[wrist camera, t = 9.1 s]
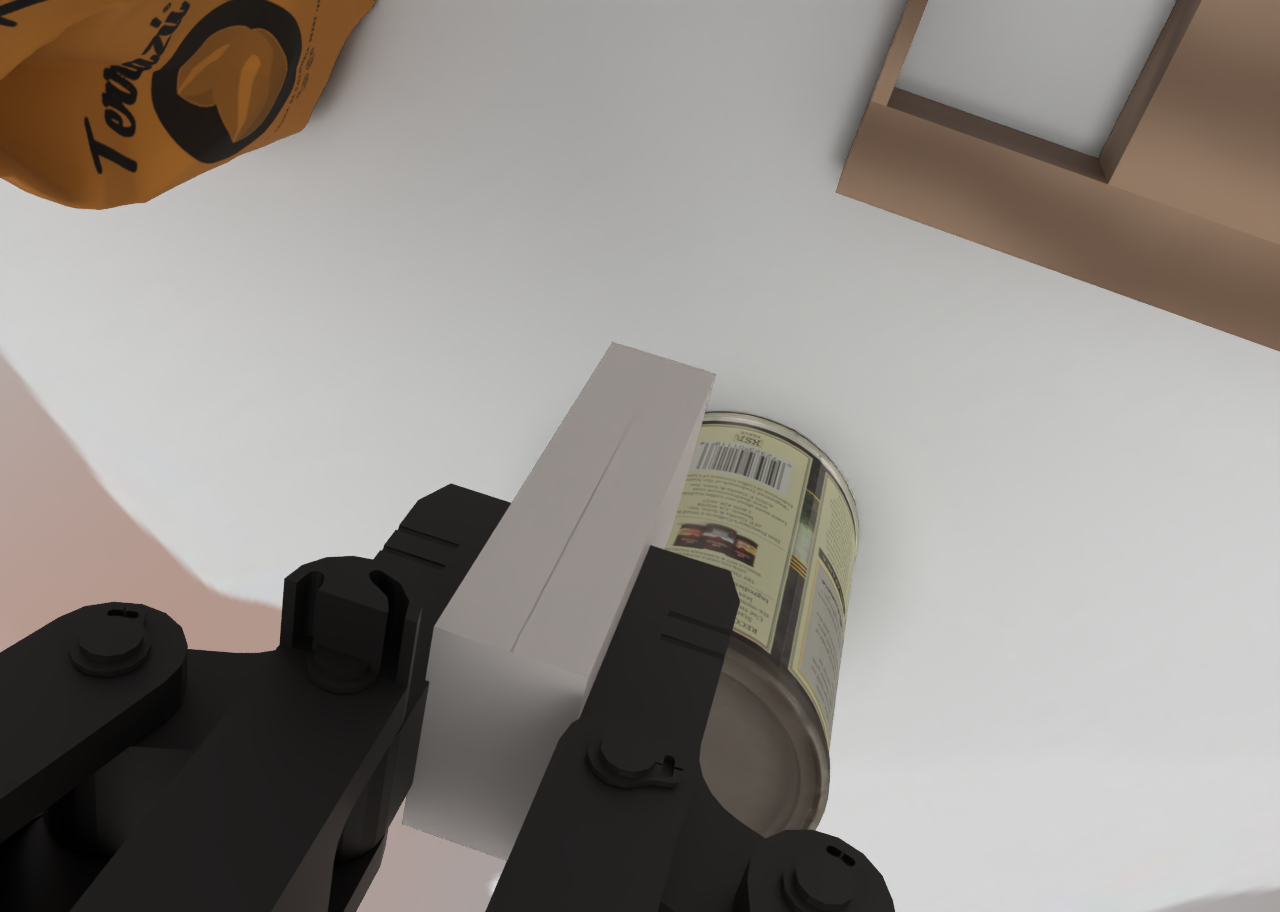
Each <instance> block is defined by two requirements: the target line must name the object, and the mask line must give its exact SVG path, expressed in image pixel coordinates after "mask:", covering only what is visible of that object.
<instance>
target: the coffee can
mask: <svg viewBox="0 0 1280 912" xmlns="http://www.w3.org/2000/svg"><path fill="white" fill-rule="evenodd" d="M858 543H859V525H858V517H857V512H856V504H855V502H854V499H853V498H852V496H851V494H850V491H849V489H848V486H847V484H846V483H845V481H844V479H843V478H842V476H841V474H840V473H839V471H838V470H837V468H836V467H835V466H834V465H833V463H832V462H831V461H830V460H829V459H828V458H827V457H826V456H825V455H824V454H823V452H821V451H820V450H819V449H818V448H817V447H816V446H814V445H813V444H812V443H811V442H809V441H808V440H806V439H805V438H803V437H802V436H800V435H799V434H797V433H796V432H795V431H793V430H790V429H788V428H786V427H783V426H781V425H778V424H776V423H773V422H771V421H768V420H766V419H762V418H758V417H754V416H750V415H745V414H737V413H706V414H704V418H703V421H702V425H701V428H700V432H699V436H698V439H697V443H696V446H695V450H694V453H693V457H692V460H691V464H690V467H689V471H688V474H687V478H686V481H685V485H684V488H683V492H682V495H681V499H680V502H679V506H678V509H677V513H676V516H675V520H674V523H673V527H672V530H671V533H670V536H669V538H668V541H667V543H666V546H665V549H664V550H668V551H671V552H674V553H677V554H680V555H683V556H686V557H689V558H692V559H695V560H699V561H702V562H705V563H708V564H711V565H714V566H717V567H720V568H723V569H726V570H729V571H731V574H732V577H733V580H734V584H735V587H736V590H737V593H738V596H739V599H740V605H739V608H738V612H737V615H736V619H735V623H734V626H733V630H732V633H731V637H730V641H729V645H728V648H727V652H726V655H725V658H724V663H723V666H722V670H721V674H720V677H719V681H718V685H717V688H716V692H715V696H714V699H713V703H712V706H711V710H710V714H709V717H708V721H707V725H706V728H705V732H704V736H703V739H702V743H701V749H700V759H699V761H700V766H701V770H702V775H703V778H704V780H705V782H706V784H707V786H708V788H709V789H710V791H711V793H712V794H713V796H714V797H715V798H716V799H717V800H718V802H719V803H720V804H721V805H722V806H723V808H724V809H725V810H727V811H728V812H729V813H730V814H732V815H733V816H734V817H735V818H737V819H738V820H739V821H740V822H742V823H743V824H745V825H746V826H748V827H749V828H751V829H752V830H754V831H755V832H757V833H758V834H760V835H761V836H763V837H764V838H768V837H770V836H773V835H775V834H777V833H779V832H782V831H784V830H810V829H812V830H816V828H817V826H818V825H819V823H820V820H821V818H822V816H823V813H824V811H825V807H826V804H827V800H828V793H829V783H830V758H829V748H830V740H831V732H832V724H833V716H834V709H835V701H836V692H837V685H838V677H839V670H840V662H841V654H842V647H843V642H844V632H845V624H846V616H847V608H848V602H849V594H850V586H851V579H852V571H853V565H854V562H855V559H856V554H857V550H858Z"/></svg>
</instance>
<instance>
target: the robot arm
mask: <svg viewBox="0 0 1280 912" xmlns="http://www.w3.org/2000/svg"><path fill="white" fill-rule="evenodd" d="M715 376H716V374H715V373H711V372H708V371H705V370H702V369H699V368H695V367H692V366H689V365H686V364H682V363H679V362H676V361H673V360H669V359H666V358H663V357H660V356H656V355H653V354H650V353H647V352H643V351H640V350H637V349H634V348H630V347H627V346H624V345H621V344H617V343H614V342H612V344H611V345H610V347H609V348H608V350H607V351H606V353H605V355H604V356H603V358H602V359H601V361H600V363H599V364H598V366H597V367H596V369H595V371H594V372H593V374H592V375H591V377H590V379H589V380H588V382H587V383H586V385H585V387H584V388H583V390H582V391H581V393H580V395H579V396H578V398H577V399H576V401H575V403H574V404H573V406H572V407H571V409H570V410H569V412H568V414H567V415H566V417H565V418H564V420H563V422H562V423H561V425H560V426H559V428H558V430H557V431H556V433H555V434H554V436H553V438H552V439H551V441H550V442H549V444H548V446H547V447H546V449H545V450H544V452H543V454H542V455H541V457H540V458H539V460H538V462H537V463H536V465H535V466H534V468H533V470H532V471H531V473H530V474H529V476H528V477H527V479H526V481H525V482H524V484H523V485H522V487H521V489H520V490H519V492H518V493H517V495H516V497H515V498H514V500H513V501H512V503H510V502H507V501H503V500H500V499H497V498H494V497H491V496H488V495H485V494H482V493H479V492H476V491H472V490H469V489H466V488H463V487H460V486H457V485H454V484H449V485H447V486H445V487H443V488H441V489H439V490H437V491H435V492H433V493H431V494H429V495H427V496H426V497H424V498H422V499H420V500H418V501H417V503H416V504H415V505H414V507H413V508H412V509H411V510H410V512H409V513H408V514H407V516H406V517H405V518H404V520H403V521H402V522H401V524H400V525H399V528H398V530H395V532H394V533H393V534H392V536H391V537H390V538H389V539H388V541H387V542H386V543H385V545H384V548H383V550H382V551H381V550H380V551H379V553H378V554H377V555H376V557H375V558H374V559H373V560H372V559H367V558H361V557H356V556H343V557H326V558H323V559H320V560H317V561H314V562H310V563H307V564H304V565H302V566H300V567H299V568H298V569H297V570H295V571H294V572H293V573H291V574H290V575H289V576H287V577H286V578H285V579H284V592H283V606H282V619H281V633H280V645H279V646H278V647H277V649H276V650H274V651H267V652H261V653H229V652H217V651H205V650H192V649H187V648H188V645H187V642H186V639H185V636H184V633H183V630H182V627H181V626H180V625H179V624H177V623H176V622H175V621H174V620H173V619H172V618H170V616H168V615H167V614H166V613H164V612H161V611H159V610H156V609H154V608H151V607H148V606H146V605H143V604H133V603H122V602H110V603H104V604H97V605H91V606H84V607H82V608H80V609H77V610H75V611H73V612H70V613H68V614H66V615H63V616H61V617H59V618H57V619H55V620H54V621H52V622H50V623H49V624H47V625H45V626H44V627H42V628H41V629H39V630H37V631H35V632H34V633H32V634H30V635H29V636H27V637H25V638H24V639H22V640H20V641H19V642H17V643H16V644H14V645H12V646H10V647H9V648H7V649H6V650H4V651H2V652H1V653H0V912H356V911H357V909H358V907H359V905H360V903H361V901H362V899H363V897H364V896H365V894H366V892H367V890H368V888H369V886H370V884H371V883H372V880H373V879H374V877H375V875H376V873H377V871H378V869H379V868H380V865H381V861H382V858H383V854H384V850H385V845H386V839H387V833H388V827H389V826H390V824H391V822H392V820H393V818H394V817H395V815H396V813H397V811H398V809H399V807H400V805H401V804H402V802H403V800H404V798H405V797H406V802H405V808H404V814H403V820H402V824H403V825H406V826H409V827H412V828H414V829H417V830H420V831H423V832H426V833H429V834H432V835H434V836H437V837H440V838H443V839H446V840H449V841H452V842H454V843H457V844H460V845H463V846H466V847H469V848H472V849H474V850H477V851H480V852H483V853H486V854H489V855H492V856H495V857H497V858H500V859H503V860H506V861H507V862H506V865H505V867H504V869H503V872H502V874H501V876H500V879H499V881H498V883H497V886H496V888H495V890H494V893H493V895H492V897H491V900H490V902H489V904H488V907H487V909H486V911H485V912H895V909H894V904H893V900H892V898H891V895H890V893H889V890H888V888H887V886H886V883H885V881H884V878H883V876H882V875H881V874H880V872H879V871H878V870H877V869H876V868H875V867H874V866H873V864H872V863H871V862H870V861H869V860H868V859H867V857H866V856H865V855H864V854H863V853H861V852H860V851H858V850H857V849H855V848H854V847H852V846H850V845H849V844H847V843H846V842H844V841H843V840H841V839H840V838H838V837H834V836H831V835H828V834H825V833H821V832H818V831H815V830H812V829H810V830H784V831H782V832H779V833H777V834H775V835H773V836H770V837H768V838H764V837H763V836H761V835H760V834H758V833H757V832H755V831H754V830H752V829H751V828H749V827H748V826H746V825H745V824H743V823H742V822H740V821H739V820H738V819H737V818H735V817H734V816H733V815H732V814H730V813H729V812H728V811H727V810H725V809H724V808H723V806H722V805H721V804H720V803H719V802H718V800H717V799H716V798H715V797H714V796H713V794H712V793H711V791H710V789H709V788H708V786H707V784H706V782H705V780H704V778H703V775H702V770H701V766H700V761H699V759H700V749H701V743H702V739H703V736H704V732H705V728H706V725H707V721H708V717H709V714H710V710H711V706H712V703H713V699H714V696H715V692H716V688H717V685H718V681H719V677H720V674H721V670H722V666H723V663H724V658H725V655H726V652H727V648H728V645H729V641H730V637H731V633H732V630H733V626H734V623H735V619H736V615H737V612H738V608H739V605H740V599H739V596H738V593H737V590H736V587H735V584H734V580H733V577H732V574H731V571H729V570H726V569H723V568H720V567H717V566H714V565H711V564H708V563H705V562H702V561H699V560H695V559H692V558H689V557H686V556H683V555H680V554H677V553H674V552H671V551H668V550H664V549H665V546H666V543H667V541H668V538H669V536H670V533H671V530H672V527H673V523H674V520H675V516H676V513H677V509H678V506H679V502H680V499H681V495H682V492H683V488H684V485H685V481H686V478H687V474H688V471H689V467H690V464H691V460H692V457H693V453H694V450H695V446H696V443H697V439H698V436H699V432H700V428H701V425H702V421H703V418H704V414H705V411H706V407H707V404H708V400H709V397H710V393H711V390H712V386H713V383H714V379H715Z"/></svg>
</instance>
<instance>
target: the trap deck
mask: <svg viewBox="0 0 1280 912" xmlns="http://www.w3.org/2000/svg"><path fill="white" fill-rule="evenodd" d="M927 2H928V0H908V1H907V4H906V7H905V9H904V12H903V14H902V17H901V20H900V22H899V25H898V27H897V30H896V33H895V35H894V38H893V40H892V43H891V46H890V48H889V51H888V53H887V56H886V59H885V61H884V64H883V66H882V69H881V72H880V74H879V77H878V79H877V82H876V85H875V87H874V90H873V92H872V95H871V98H870V100H869V103H868V105H867V108H866V111H865V113H864V116H863V118H862V121H861V124H860V126H859V129H858V131H857V134H856V137H855V139H854V142H853V144H852V147H851V150H850V152H849V155H848V157H847V160H846V163H845V165H844V168H843V171H842V174H841V177H840V180H839V183H838V187H837V190H836V193H839V194H842V195H844V196H847V197H850V198H853V199H855V200H858V201H861V202H864V203H867V204H869V205H872V206H875V207H878V208H881V209H883V210H886V211H889V212H892V213H895V214H897V215H900V216H903V217H906V218H909V219H911V220H914V221H917V222H920V223H923V224H925V225H928V226H931V227H934V228H936V229H939V230H942V231H945V232H948V233H950V234H953V235H956V236H959V237H962V238H964V239H967V240H970V241H973V242H976V243H978V244H981V245H984V246H987V247H990V248H992V249H995V250H998V251H1001V252H1003V253H1006V254H1009V255H1012V256H1015V257H1017V258H1020V259H1023V260H1026V261H1029V262H1031V263H1034V264H1037V265H1040V266H1043V267H1045V268H1048V269H1051V270H1054V271H1057V272H1059V273H1062V274H1065V275H1068V276H1071V277H1073V278H1076V279H1079V280H1082V281H1084V282H1087V283H1090V284H1093V285H1096V286H1098V287H1101V288H1104V289H1107V290H1110V291H1112V292H1115V293H1118V294H1121V295H1124V296H1126V297H1129V298H1132V299H1135V300H1138V301H1140V302H1143V303H1146V304H1149V305H1152V306H1154V307H1157V308H1160V309H1163V310H1165V311H1168V312H1171V313H1174V314H1177V315H1179V316H1182V317H1185V318H1188V319H1191V320H1193V321H1196V322H1199V323H1202V324H1205V325H1207V326H1210V327H1213V328H1216V329H1219V330H1221V331H1224V332H1227V333H1230V334H1233V335H1235V336H1238V337H1241V338H1244V339H1246V340H1249V341H1252V342H1255V343H1258V344H1260V345H1263V346H1266V347H1269V348H1272V349H1274V350H1277V351H1280V0H1177V2H1176V4H1175V6H1174V8H1173V10H1172V12H1171V14H1170V16H1169V18H1168V20H1167V22H1166V24H1165V26H1164V28H1163V30H1162V32H1161V34H1160V36H1159V38H1158V40H1157V42H1156V44H1155V46H1154V48H1153V50H1152V52H1151V54H1150V56H1149V58H1148V60H1147V62H1146V64H1145V66H1144V68H1143V70H1142V72H1141V74H1140V76H1139V78H1138V80H1137V82H1136V84H1135V86H1134V88H1133V90H1132V92H1131V94H1130V96H1129V98H1128V100H1127V102H1126V104H1125V106H1124V108H1123V110H1122V112H1121V114H1120V116H1119V118H1118V120H1117V122H1116V124H1115V126H1114V128H1113V130H1112V132H1111V134H1110V136H1109V138H1108V140H1107V142H1106V144H1105V146H1104V148H1103V150H1102V152H1101V154H1100V156H1099V158H1098V159H1097V158H1094V157H1092V156H1089V155H1086V154H1083V153H1080V152H1077V151H1074V150H1072V149H1069V148H1066V147H1063V146H1060V145H1057V144H1055V143H1052V142H1049V141H1046V140H1043V139H1040V138H1037V137H1035V136H1032V135H1029V134H1026V133H1023V132H1020V131H1018V130H1015V129H1012V128H1009V127H1006V126H1003V125H1001V124H998V123H995V122H992V121H989V120H986V119H983V118H981V117H978V116H975V115H972V114H969V113H966V112H964V111H961V110H958V109H955V108H952V107H949V106H946V105H944V104H941V103H938V102H935V101H932V100H929V99H927V98H924V97H921V96H918V95H915V94H912V93H909V92H907V91H904V90H901V89H898V88H895V87H894V86H895V83H896V81H897V78H898V76H899V73H900V71H901V68H902V66H903V63H904V61H905V58H906V55H907V53H908V50H909V48H910V45H911V43H912V40H913V38H914V35H915V33H916V30H917V27H918V25H919V22H920V20H921V17H922V15H923V12H924V10H925V7H926V5H927Z"/></svg>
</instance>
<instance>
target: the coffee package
mask: <svg viewBox="0 0 1280 912" xmlns="http://www.w3.org/2000/svg"><path fill="white" fill-rule="evenodd" d="M374 3H375V0H0V178H2V179H4V180H6V181H8V182H10V183H11V184H13V185H15V186H17V187H18V188H20V189H22V190H24V191H26V192H28V193H31V194H33V195H36V196H38V197H41V198H44V199H47V200H50V201H53V202H56V203H59V204H62V205H65V206H68V207H73V208H79V209H96V210H101V209H108V208H113V207H117V206H122V205H128V204H134V203H145V202H147V201H149V200H151V199H153V198H155V197H157V196H158V195H160V194H162V193H164V192H166V191H168V190H170V189H172V188H174V187H176V186H178V185H180V184H182V183H184V182H186V181H188V180H190V179H192V178H194V177H196V176H198V175H200V174H202V173H204V172H206V171H208V170H211V169H213V168H215V167H218V166H220V165H222V164H224V163H227V162H229V161H230V160H232V159H234V158H235V157H237V156H239V155H242V154H244V153H247V152H250V151H252V150H255V149H258V148H261V147H264V146H266V145H268V144H270V143H273V142H275V141H277V140H280V139H282V138H285V137H287V136H290V135H293V134H295V133H298V132H300V131H301V130H302V129H304V127H305V126H306V125H307V124H308V122H309V119H310V116H311V113H312V110H313V108H314V106H315V104H316V103H317V102H318V99H319V97H320V95H321V93H322V91H323V89H324V87H325V85H326V84H327V82H328V80H329V77H330V74H331V72H332V69H333V67H334V64H335V61H336V59H337V57H338V55H339V53H340V51H341V49H342V47H343V45H344V43H345V41H346V39H347V38H348V36H349V35H350V33H351V32H352V30H353V29H354V27H355V26H356V25H357V24H358V22H359V21H360V20H361V19H362V18H363V17H364V16H365V14H366V13H367V12H368V11H369V10H370V9H371V8H372V7H373V6H374Z"/></svg>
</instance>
